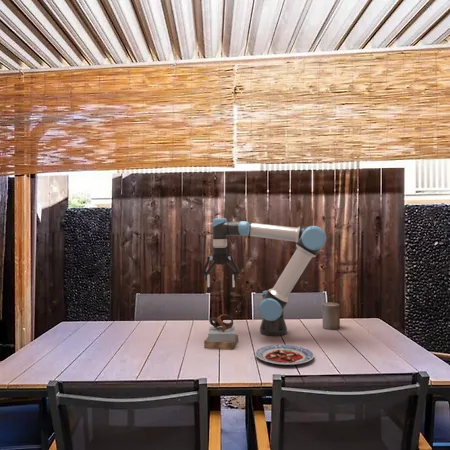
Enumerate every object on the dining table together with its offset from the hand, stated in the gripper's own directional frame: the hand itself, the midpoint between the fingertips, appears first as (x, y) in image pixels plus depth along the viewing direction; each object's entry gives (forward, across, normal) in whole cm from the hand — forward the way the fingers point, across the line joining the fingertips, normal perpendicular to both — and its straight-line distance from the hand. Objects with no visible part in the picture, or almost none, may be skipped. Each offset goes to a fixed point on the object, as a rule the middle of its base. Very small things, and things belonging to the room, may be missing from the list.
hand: (221, 286), depth 206 cm
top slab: (+23, -2, +13) cm, 27 cm away
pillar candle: (+28, -58, -26) cm, 70 cm away
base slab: (+27, -2, +13) cm, 30 cm away
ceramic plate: (+28, -34, +28) cm, 52 cm away
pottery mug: (+20, -2, +12) cm, 23 cm away
